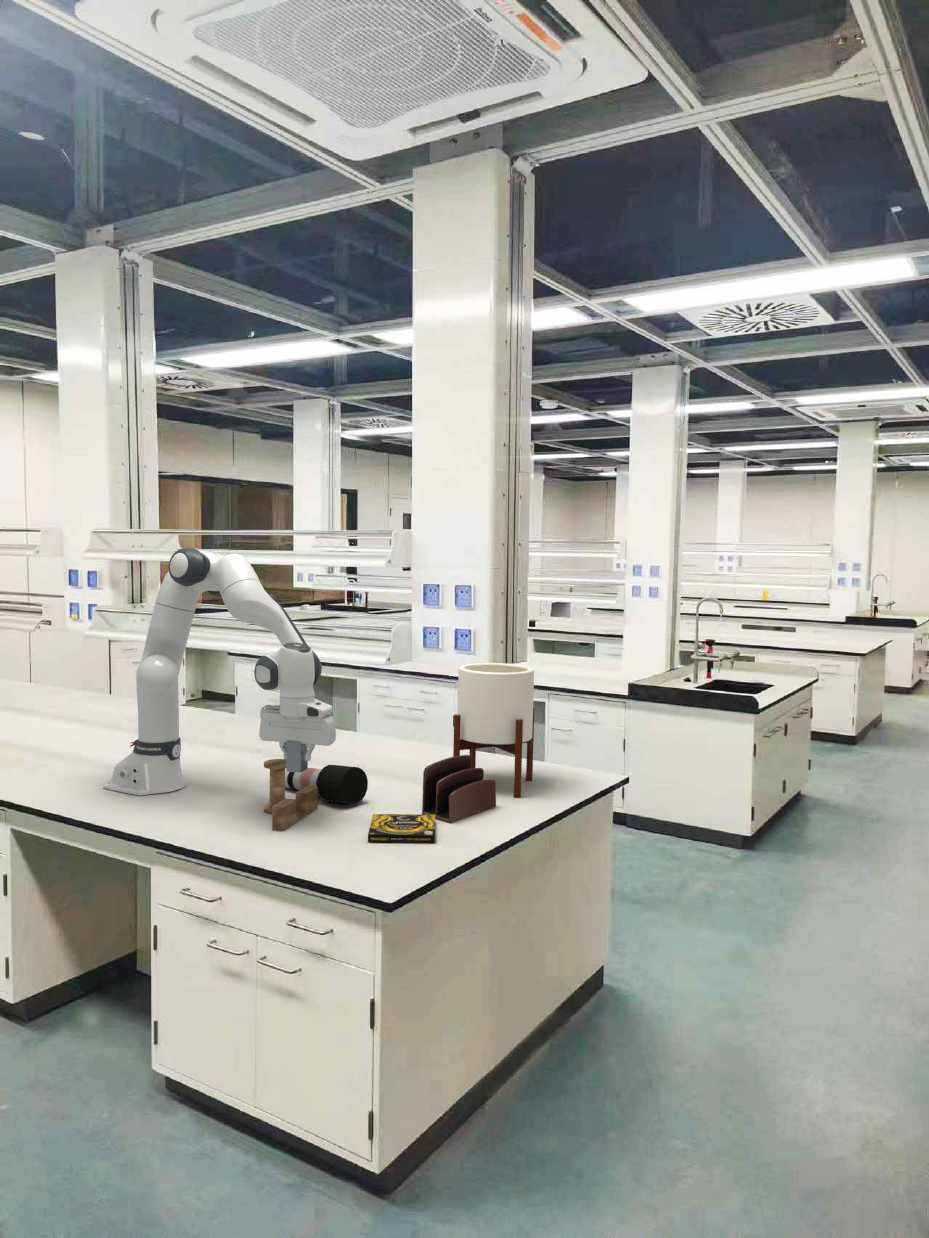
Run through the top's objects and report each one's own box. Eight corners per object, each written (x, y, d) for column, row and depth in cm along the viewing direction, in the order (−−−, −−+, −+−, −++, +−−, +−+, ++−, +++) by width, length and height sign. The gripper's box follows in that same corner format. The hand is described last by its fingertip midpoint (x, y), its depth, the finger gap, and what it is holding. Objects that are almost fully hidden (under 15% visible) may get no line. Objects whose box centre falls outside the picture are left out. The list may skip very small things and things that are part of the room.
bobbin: (258, 812, 222) (259, 764, 221) (271, 805, 229) (271, 758, 228) (282, 815, 220) (283, 766, 219) (295, 807, 227) (295, 760, 226)
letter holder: (421, 816, 223) (422, 763, 222) (468, 800, 238) (469, 751, 237) (449, 824, 217) (451, 770, 216) (496, 807, 232) (497, 757, 231)
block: (286, 771, 215) (286, 740, 215) (293, 767, 219) (293, 737, 219) (300, 772, 214) (300, 741, 214) (307, 768, 218) (307, 738, 218)
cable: (283, 797, 252) (293, 764, 255) (362, 808, 231) (371, 773, 234) (258, 787, 245) (268, 754, 248) (336, 799, 224) (347, 762, 227)
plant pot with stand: (537, 779, 261) (540, 665, 258) (522, 799, 239) (525, 675, 236) (467, 773, 267) (469, 661, 264) (446, 792, 245) (449, 670, 242)
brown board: (272, 829, 209) (272, 806, 208) (307, 807, 227) (307, 785, 227) (283, 831, 208) (283, 807, 207) (317, 808, 227) (317, 786, 226)
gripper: (254, 706, 215) (254, 759, 216) (328, 711, 210) (328, 765, 211) (266, 702, 221) (266, 753, 222) (338, 707, 216) (338, 760, 217)
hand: (297, 759), depth 217 cm, fingers closed on block, 4 cm apart
